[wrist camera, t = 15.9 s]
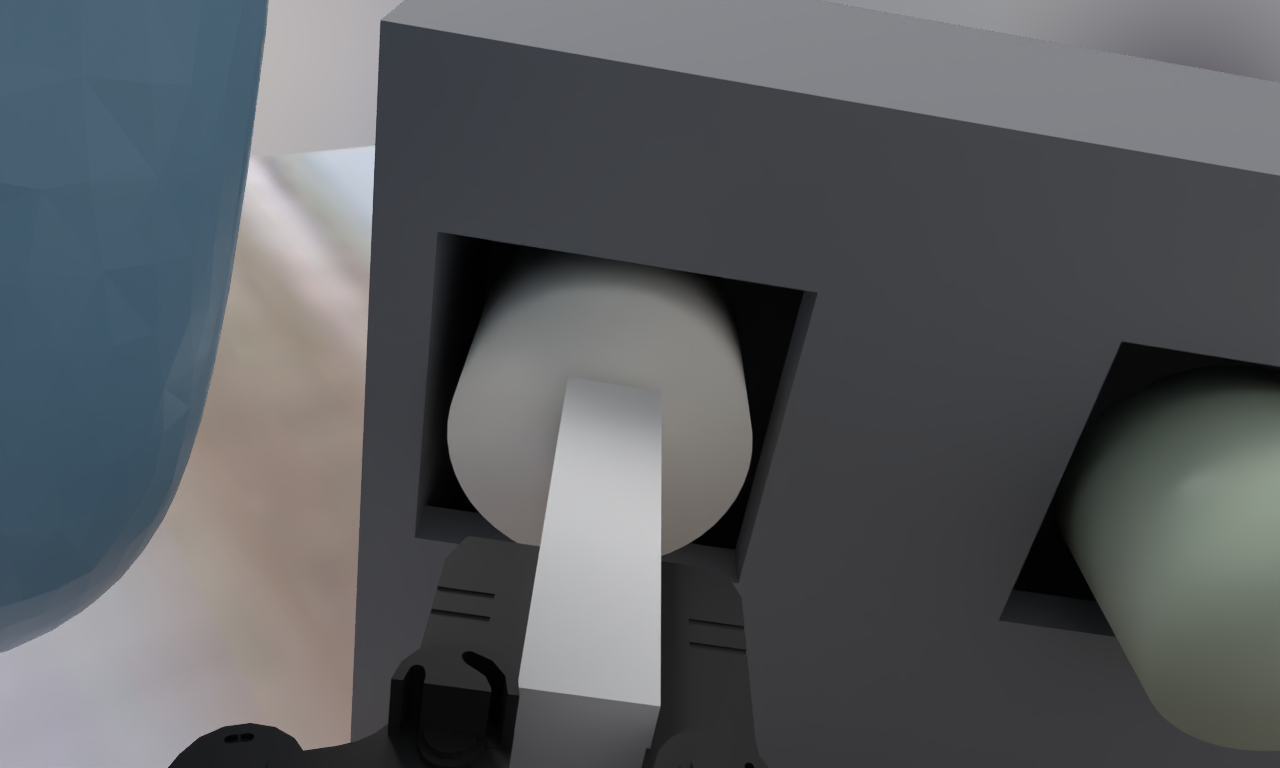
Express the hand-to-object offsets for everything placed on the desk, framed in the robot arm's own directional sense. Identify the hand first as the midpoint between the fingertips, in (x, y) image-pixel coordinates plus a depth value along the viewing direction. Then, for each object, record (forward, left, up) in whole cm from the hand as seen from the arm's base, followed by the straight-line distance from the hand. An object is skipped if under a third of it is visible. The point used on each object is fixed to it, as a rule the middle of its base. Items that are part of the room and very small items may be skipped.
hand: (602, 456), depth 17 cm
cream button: (+2, +2, -2) cm, 3 cm away
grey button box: (+11, -5, -9) cm, 15 cm away
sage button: (+7, -8, -2) cm, 11 cm away
